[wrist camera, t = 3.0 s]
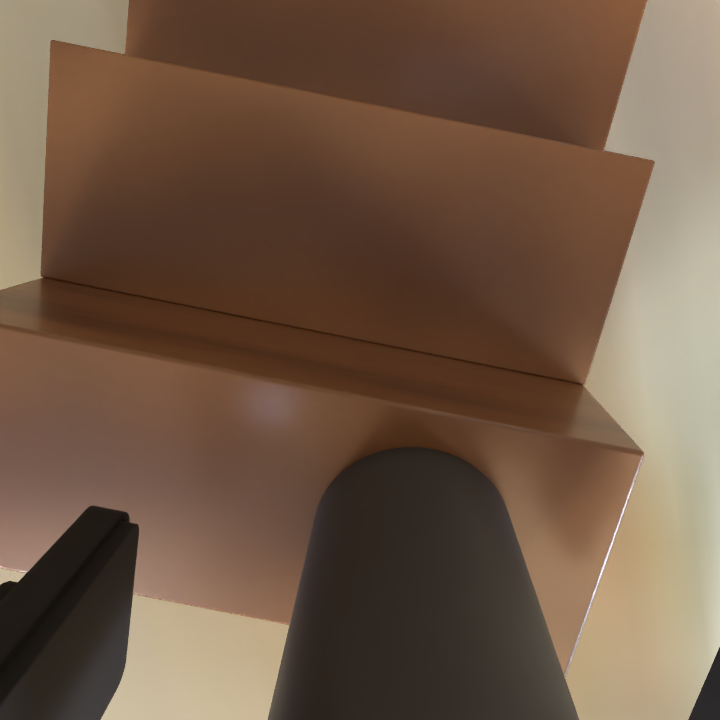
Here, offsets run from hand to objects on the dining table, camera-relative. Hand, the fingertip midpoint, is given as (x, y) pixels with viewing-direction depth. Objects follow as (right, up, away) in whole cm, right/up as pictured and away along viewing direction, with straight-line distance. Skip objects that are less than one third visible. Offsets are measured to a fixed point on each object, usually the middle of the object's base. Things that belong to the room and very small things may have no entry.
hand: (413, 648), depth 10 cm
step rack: (-1, +10, +12) cm, 15 cm away
